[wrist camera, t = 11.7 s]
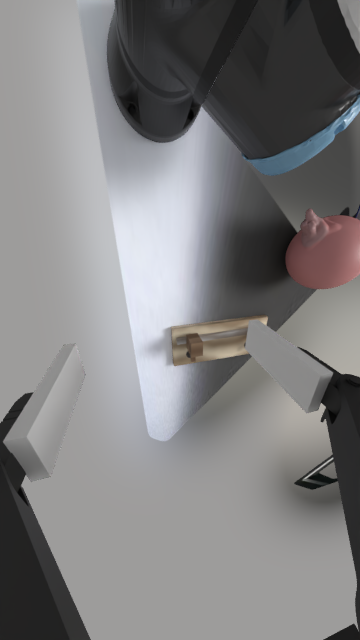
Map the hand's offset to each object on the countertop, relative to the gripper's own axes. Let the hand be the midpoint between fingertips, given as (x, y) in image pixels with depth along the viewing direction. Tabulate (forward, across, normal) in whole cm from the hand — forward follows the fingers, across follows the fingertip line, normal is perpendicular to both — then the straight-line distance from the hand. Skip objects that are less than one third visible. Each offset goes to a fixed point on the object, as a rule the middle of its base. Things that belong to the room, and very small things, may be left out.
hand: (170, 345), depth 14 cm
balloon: (+32, +38, +4) cm, 50 cm away
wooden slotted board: (+32, +19, -21) cm, 43 cm away
